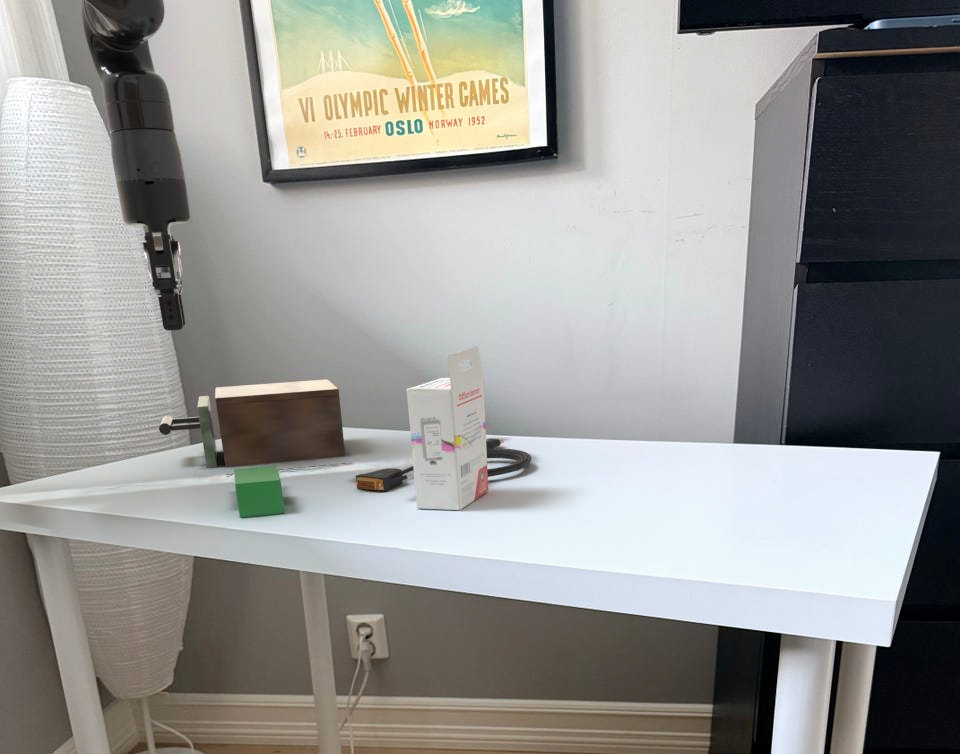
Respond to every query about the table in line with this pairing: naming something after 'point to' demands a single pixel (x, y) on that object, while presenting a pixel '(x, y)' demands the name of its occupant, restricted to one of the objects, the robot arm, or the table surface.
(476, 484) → the ink cartridge box
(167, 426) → the drawer
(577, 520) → the table surface
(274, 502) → the green rectangular block
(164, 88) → the robot arm
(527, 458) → the cable
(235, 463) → the cabinet
